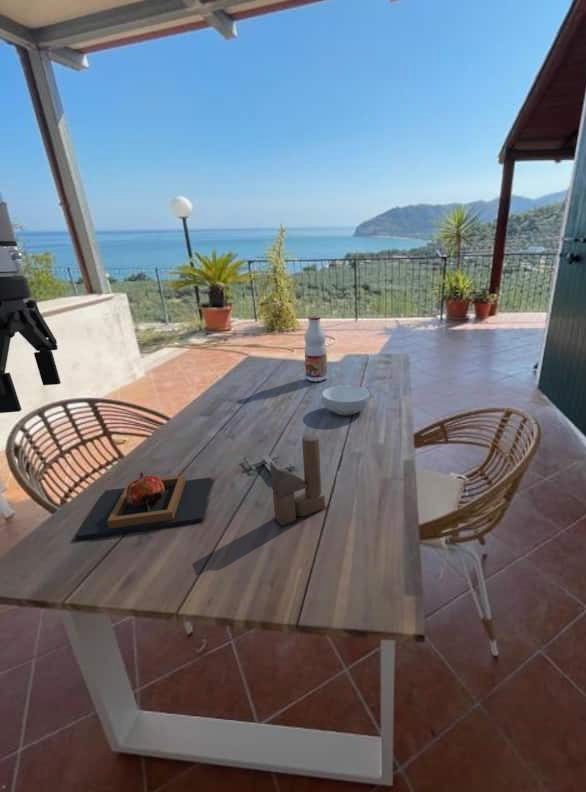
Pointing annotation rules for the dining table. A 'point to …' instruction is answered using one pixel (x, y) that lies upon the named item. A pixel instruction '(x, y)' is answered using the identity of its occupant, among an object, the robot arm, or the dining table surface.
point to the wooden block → (298, 485)
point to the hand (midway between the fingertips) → (33, 396)
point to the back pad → (121, 516)
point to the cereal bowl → (345, 399)
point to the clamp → (267, 463)
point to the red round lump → (145, 490)
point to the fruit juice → (315, 349)
